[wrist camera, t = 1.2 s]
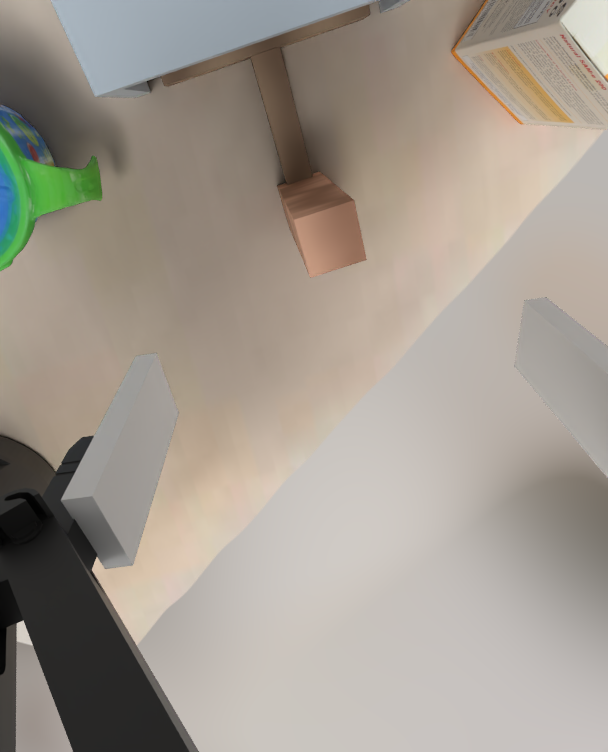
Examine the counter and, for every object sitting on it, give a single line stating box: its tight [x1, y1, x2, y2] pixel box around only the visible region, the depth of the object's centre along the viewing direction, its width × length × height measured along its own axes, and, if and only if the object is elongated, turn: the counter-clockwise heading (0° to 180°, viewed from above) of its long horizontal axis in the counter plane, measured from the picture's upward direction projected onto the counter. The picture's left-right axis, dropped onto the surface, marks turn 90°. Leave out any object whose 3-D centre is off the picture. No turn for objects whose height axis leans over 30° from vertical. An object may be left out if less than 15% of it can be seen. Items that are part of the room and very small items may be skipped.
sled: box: [161, 4, 370, 278], centre depth 25 cm, size 14×26×12 cm, turn 16°
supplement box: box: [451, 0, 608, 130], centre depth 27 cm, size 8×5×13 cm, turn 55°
